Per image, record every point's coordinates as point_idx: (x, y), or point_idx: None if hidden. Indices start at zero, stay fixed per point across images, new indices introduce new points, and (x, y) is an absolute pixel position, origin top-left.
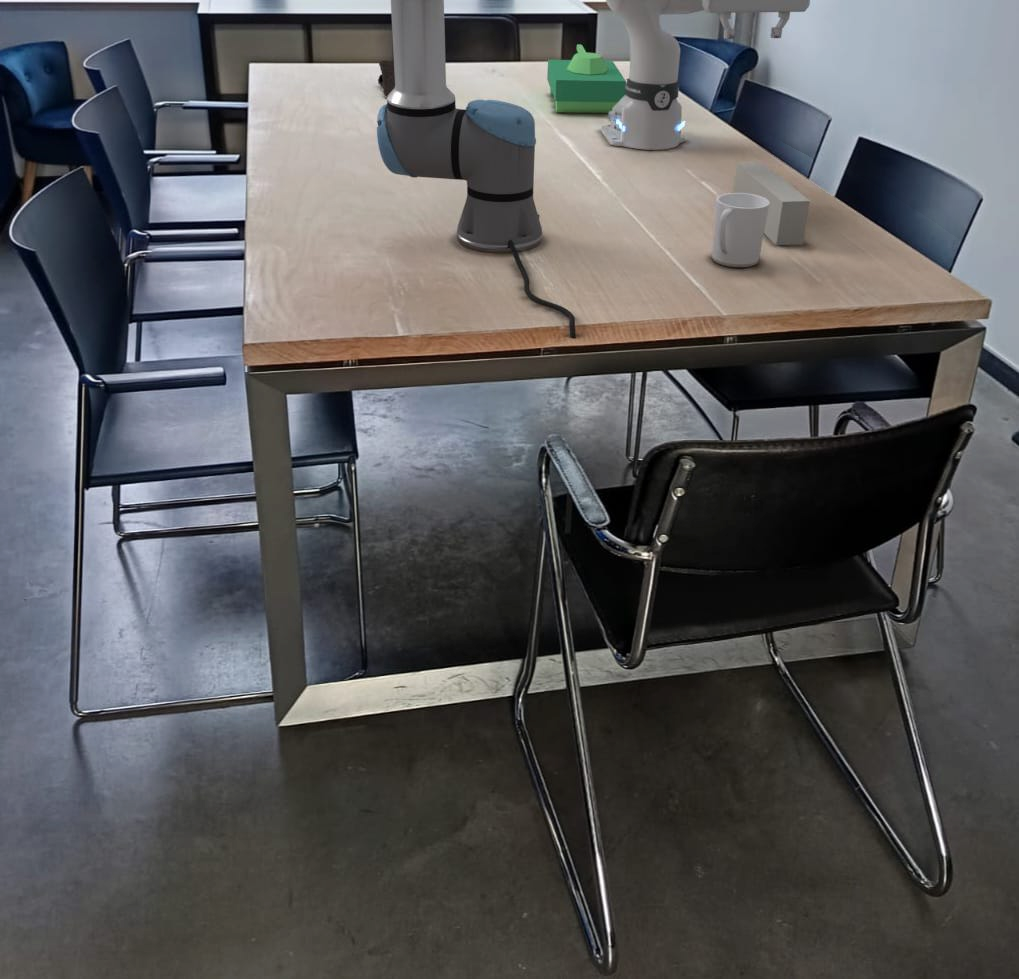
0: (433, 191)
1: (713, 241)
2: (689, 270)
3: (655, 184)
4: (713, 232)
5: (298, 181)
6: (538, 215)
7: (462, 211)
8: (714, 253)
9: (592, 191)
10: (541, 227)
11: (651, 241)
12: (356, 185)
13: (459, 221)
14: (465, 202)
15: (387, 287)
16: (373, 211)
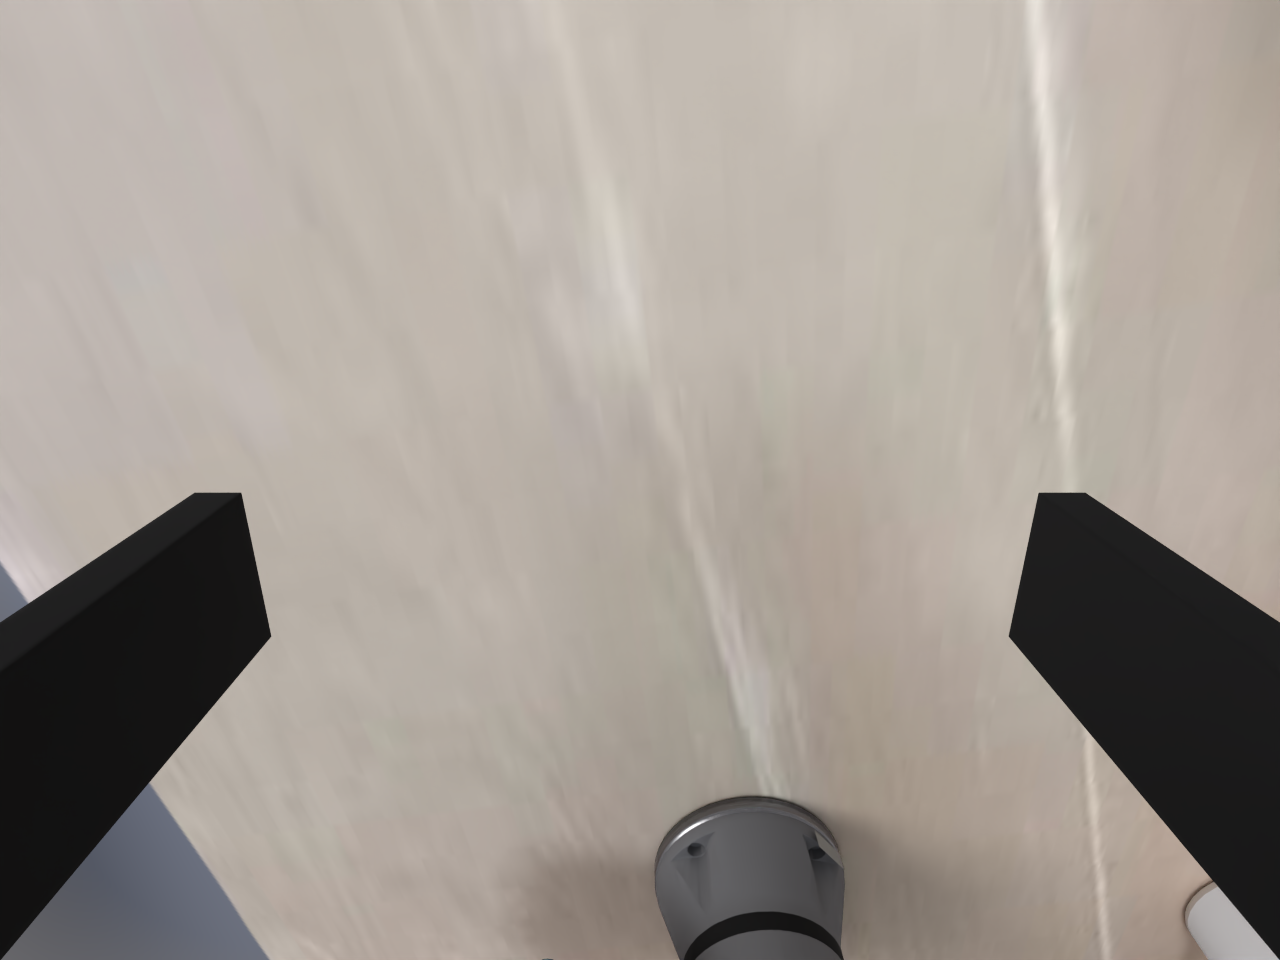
0: (534, 564)
1: (1208, 947)
2: (1118, 953)
3: (1239, 392)
4: (1222, 957)
5: (112, 529)
6: (842, 867)
7: (668, 926)
8: (1194, 935)
9: (1011, 497)
10: (844, 882)
11: (1084, 832)
12: (296, 542)
13: (662, 911)
14: (677, 951)
15: None
16: (421, 735)
